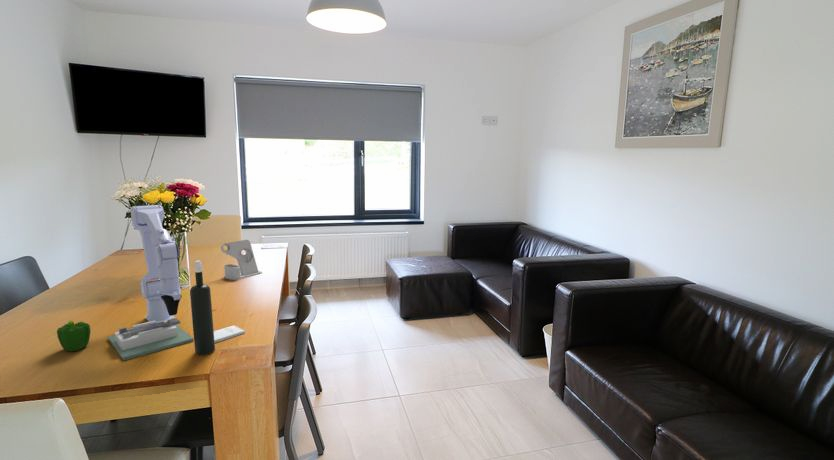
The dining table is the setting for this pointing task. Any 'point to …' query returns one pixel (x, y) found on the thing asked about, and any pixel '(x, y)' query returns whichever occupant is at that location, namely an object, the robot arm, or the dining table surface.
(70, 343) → the bell pepper
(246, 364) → the dining table surface
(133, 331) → the strap
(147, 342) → the green base plate
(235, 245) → the phone holder
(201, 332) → the wine bottle
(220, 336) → the external hard drive
